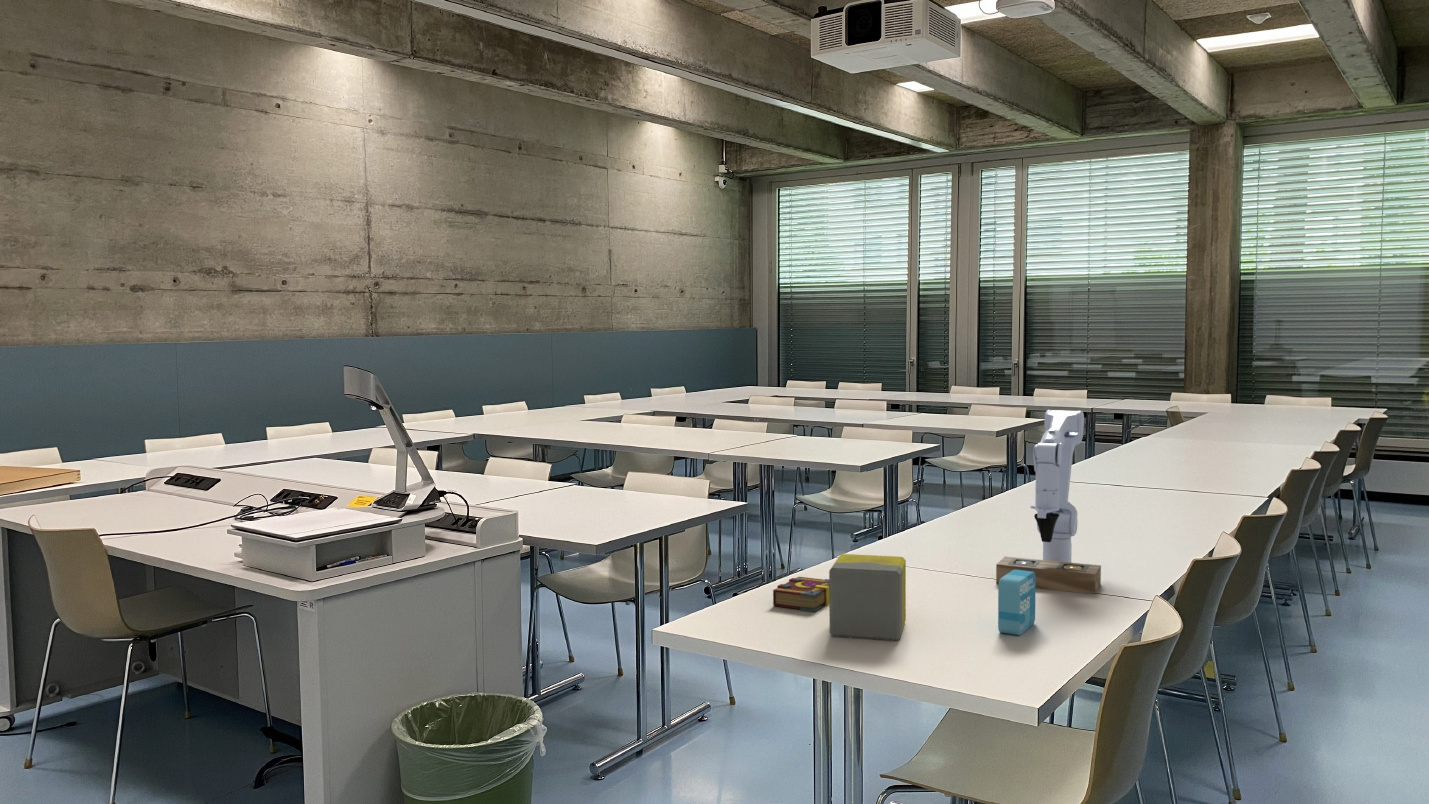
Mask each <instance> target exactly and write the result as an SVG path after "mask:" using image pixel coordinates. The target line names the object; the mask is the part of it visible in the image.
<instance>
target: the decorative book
mask: <svg viewBox="0 0 1429 804" xmlns="http://www.w3.org/2000/svg"><path fill="white" fill-rule="evenodd" d="M772 595H773V596H772V597H773V598H772V604H773V605H772V606H774V607H781V608H788V609H795V610H800V611H803V612H808V613H809V612H810V613H816V612H818V611H819V610H821V609H822V608H823V607H825V606H829V578H824V579H821V578H814V577H805V576H796V577H792V578H790V579H789V580H788V582H785V583H780V584H779V585H777V587H776V588H774V589H772Z"/></svg>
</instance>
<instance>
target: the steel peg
mask: <svg viewBox="0 0 1429 804" xmlns="http://www.w3.org/2000/svg"><path fill="white" fill-rule="evenodd" d="M1016 564H1025V565H1033V563H1032V562H1030V561H1016Z"/></svg>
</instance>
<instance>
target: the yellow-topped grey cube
mask: <svg viewBox="0 0 1429 804" xmlns="http://www.w3.org/2000/svg"><path fill="white" fill-rule="evenodd" d="M906 561H907V560H906V558H904V557H903V556H897V555H896V556H892V555H875V554H873V555H870V554H849V553H841V554H840V555H839V556H838V557H837V559H836V560H835V562H834V563H833V565H832V566H831V568H830V569H829V571H828V572H829V573H828V576H829V577H828V579H829V604H828V606H829V613H828V614H829V617H828V618H829V634H830V635H831V636H832V637H834V636H836V637H837V636H839V637H837V638H849V637H852V639H863V638H864V639H865V640H878V641H879V640H880V641H881V640H882V641H893V642H896V641H899V640H900V638H901V635H902V632H903V629H904V628H905V627H904V626H905V623H906V619H907V618H906V616H907V615H906V612H907V609H906V608H907V607H906V606H907V605H906V602H907V595H906V594H907V591H906V589H907V588H906V587H907V586H906V585H907V583H906V581H907V580H906V579H907V578H906V577H907V574H906V573H907V571H906V570H907V569H906V565H907V562H906Z"/></svg>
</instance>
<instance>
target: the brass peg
mask: <svg viewBox="0 0 1429 804" xmlns="http://www.w3.org/2000/svg"><path fill="white" fill-rule="evenodd" d="M1064 568H1066V569H1076V570H1082V567H1080V566H1074V565H1067V566H1064Z"/></svg>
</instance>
